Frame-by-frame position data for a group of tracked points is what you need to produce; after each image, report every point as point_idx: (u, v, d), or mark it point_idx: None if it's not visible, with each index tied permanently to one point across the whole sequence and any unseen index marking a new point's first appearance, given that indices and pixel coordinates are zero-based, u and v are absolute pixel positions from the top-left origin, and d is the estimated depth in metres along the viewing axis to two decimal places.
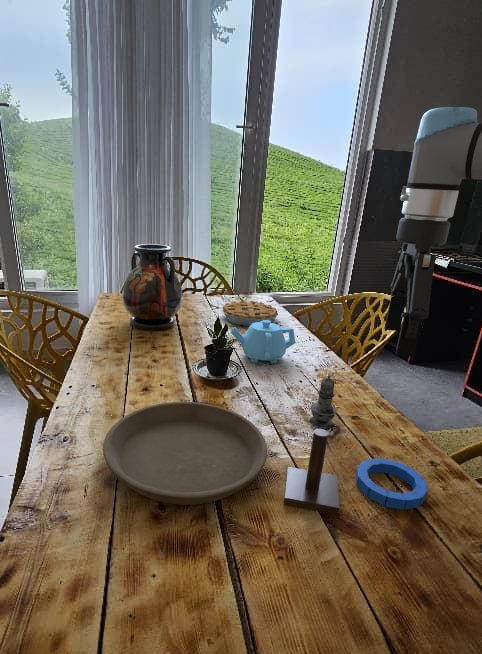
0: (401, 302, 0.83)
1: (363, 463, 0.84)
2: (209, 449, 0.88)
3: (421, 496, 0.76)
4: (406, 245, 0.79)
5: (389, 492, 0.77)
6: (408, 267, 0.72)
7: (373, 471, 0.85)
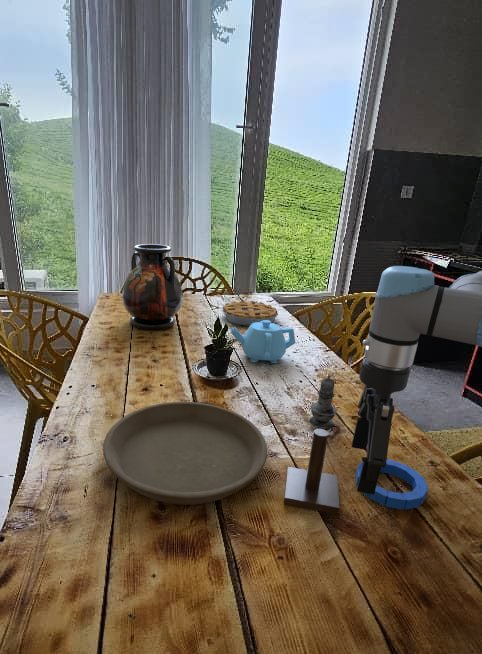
0: (367, 424, 0.85)
1: None
2: (209, 449, 0.88)
3: (421, 496, 0.76)
4: None
5: (389, 492, 0.77)
6: (369, 409, 0.74)
7: None
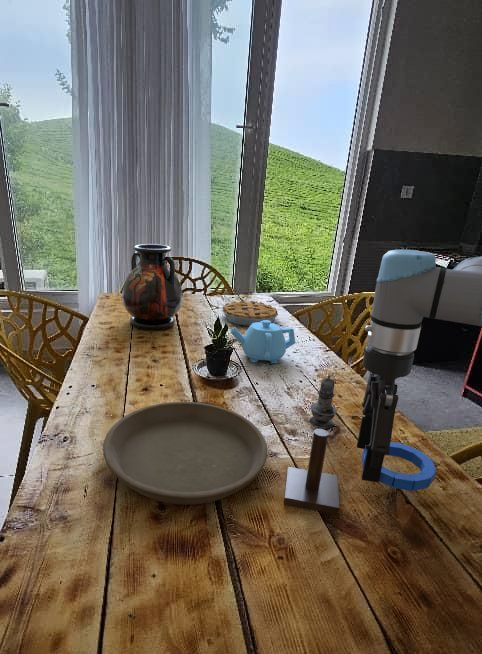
0: (372, 423, 0.83)
1: None
2: (209, 449, 0.88)
3: (429, 477, 0.74)
4: None
5: (396, 473, 0.75)
6: (373, 397, 0.73)
7: None
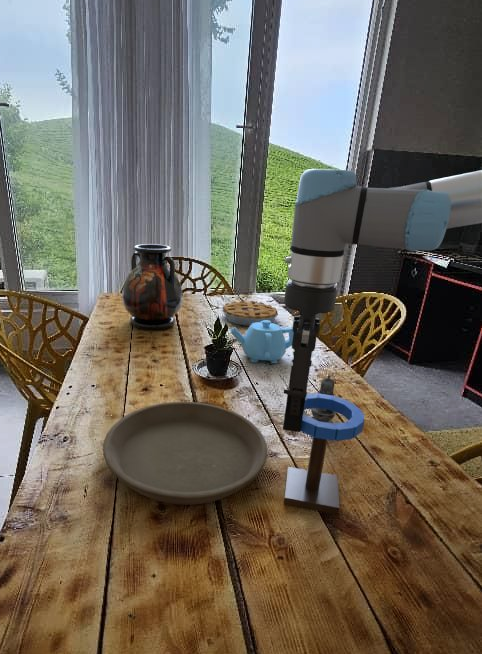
0: None
1: None
2: (209, 449, 0.88)
3: (355, 426, 0.68)
4: None
5: (319, 422, 0.69)
6: (294, 337, 0.66)
7: (309, 406, 0.76)
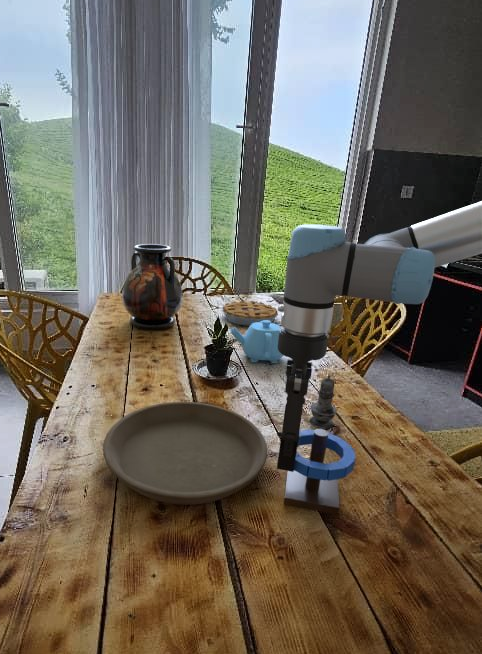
0: None
1: None
2: (209, 449, 0.88)
3: (346, 466, 0.71)
4: None
5: (312, 462, 0.71)
6: (287, 381, 0.69)
7: (302, 443, 0.79)
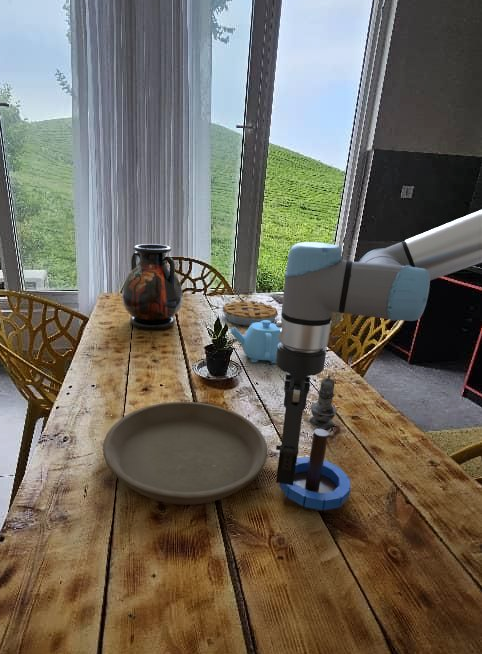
0: None
1: None
2: (209, 449, 0.88)
3: (341, 496, 0.73)
4: None
5: (308, 492, 0.73)
6: (285, 394, 0.70)
7: (299, 470, 0.81)
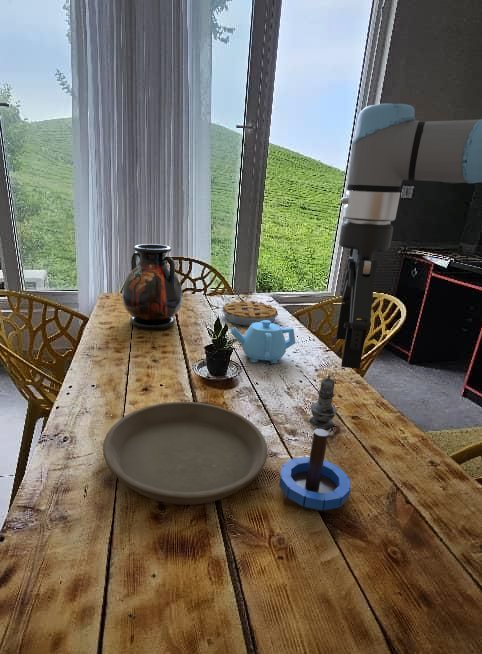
0: None
1: (289, 462, 0.81)
2: (209, 449, 0.88)
3: (341, 496, 0.73)
4: (353, 250, 0.75)
5: (308, 492, 0.73)
6: (351, 274, 0.68)
7: (299, 470, 0.81)
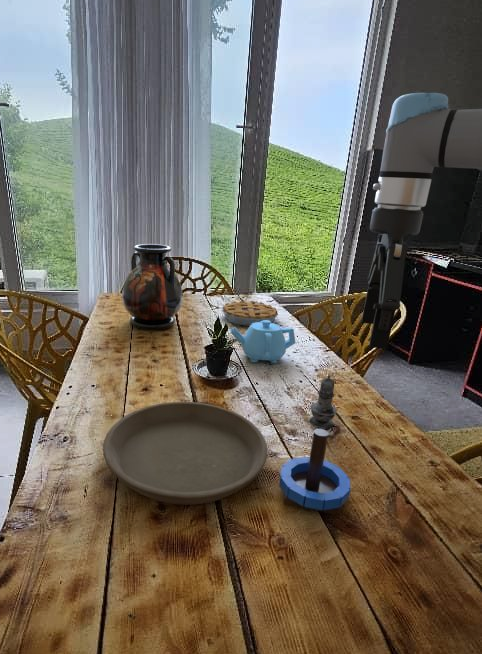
0: (377, 294, 0.82)
1: (289, 462, 0.81)
2: (209, 449, 0.88)
3: (341, 496, 0.73)
4: (381, 236, 0.77)
5: (308, 492, 0.73)
6: (381, 258, 0.70)
7: (299, 470, 0.81)
